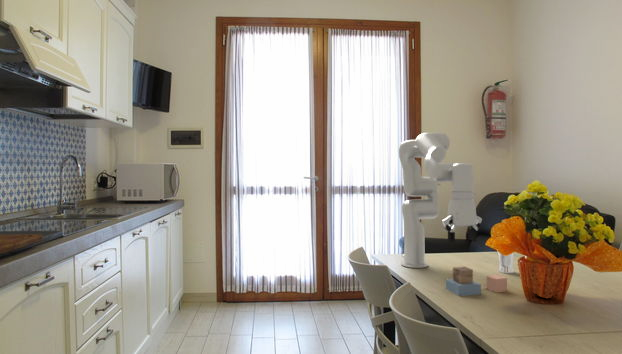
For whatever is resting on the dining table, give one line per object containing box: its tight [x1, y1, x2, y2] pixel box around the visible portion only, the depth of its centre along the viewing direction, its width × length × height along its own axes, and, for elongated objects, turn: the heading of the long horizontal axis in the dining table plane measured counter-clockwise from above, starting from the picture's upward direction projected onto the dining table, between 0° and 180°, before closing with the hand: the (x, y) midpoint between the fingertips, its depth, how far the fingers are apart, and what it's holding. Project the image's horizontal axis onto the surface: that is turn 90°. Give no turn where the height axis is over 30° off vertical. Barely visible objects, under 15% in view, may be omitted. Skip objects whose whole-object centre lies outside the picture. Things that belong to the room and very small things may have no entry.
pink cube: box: [486, 274, 508, 293], centre depth 152 cm, size 5×5×5 cm
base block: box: [445, 278, 482, 296], centre depth 151 cm, size 9×9×4 cm
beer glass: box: [497, 251, 515, 274], centre depth 179 cm, size 7×7×15 cm
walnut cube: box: [452, 266, 474, 284], centre depth 151 cm, size 5×5×5 cm
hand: (462, 241), depth 151 cm, fingers open, 9 cm apart
